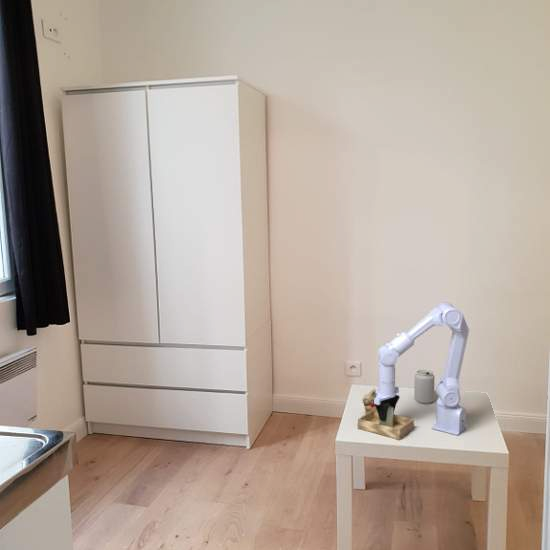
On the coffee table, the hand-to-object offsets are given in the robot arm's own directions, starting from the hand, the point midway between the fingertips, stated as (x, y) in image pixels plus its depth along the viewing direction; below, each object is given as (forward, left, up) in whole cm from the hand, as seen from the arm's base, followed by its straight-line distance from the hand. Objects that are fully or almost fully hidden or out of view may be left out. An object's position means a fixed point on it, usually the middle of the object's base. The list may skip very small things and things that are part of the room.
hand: (386, 417), depth 206 cm
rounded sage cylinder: (0, 0, -3) cm, 3 cm away
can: (0, -31, -4) cm, 32 cm away
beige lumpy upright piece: (+10, -9, -4) cm, 14 cm away
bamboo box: (0, +1, -4) cm, 4 cm away
